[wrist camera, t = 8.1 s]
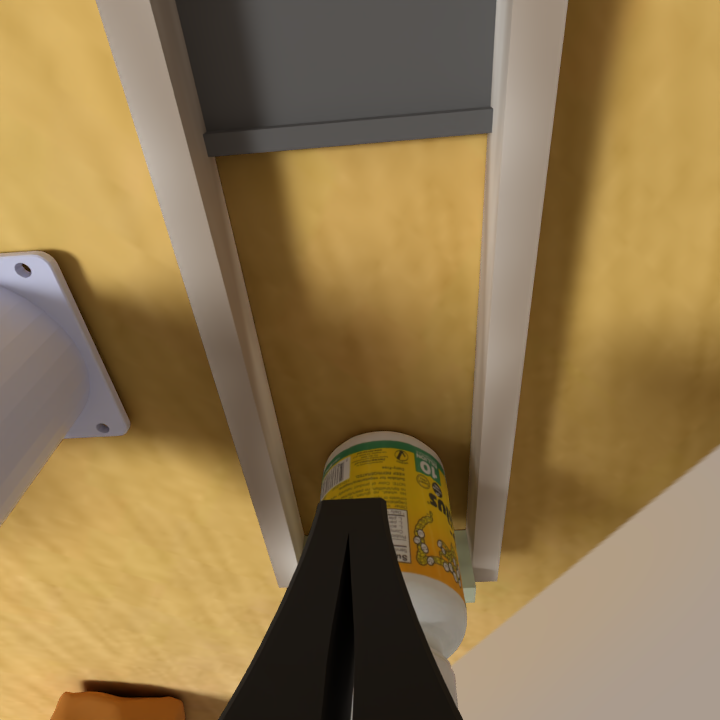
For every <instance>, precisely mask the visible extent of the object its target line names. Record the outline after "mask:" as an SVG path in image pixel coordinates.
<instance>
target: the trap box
mask: <svg viewBox="0 0 720 720" xmlns="http://www.w3.org/2000/svg"><path fill="white" fill-rule="evenodd" d="M96 3H97V6H98V10H99V13H100V16H101V19H102V22H103V26H104V29H105V32H106V35H107V38H108V42H109V45H110V48H111V51H112V54H113V58H114V61H115V64H116V67H117V70H118V74H119V77H120V80H121V83H122V86H123V90H124V93H125V96H126V99H127V102H128V106H129V109H130V112H131V115H132V118H133V122H134V125H135V128H136V131H137V134H138V138H139V141H140V144H141V147H142V150H143V154H144V157H145V160H146V163H147V166H148V170H149V173H150V176H151V179H152V182H153V186H154V189H155V192H156V195H157V198H158V202H159V205H160V208H161V211H162V214H163V218H164V221H165V224H166V227H167V230H168V234H169V237H170V240H171V243H172V246H173V250H174V253H175V256H176V259H177V262H178V266H179V269H180V272H181V275H182V278H183V282H184V285H185V288H186V291H187V294H188V298H189V301H190V304H191V307H192V310H193V314H194V317H195V320H196V323H197V326H198V330H199V333H200V336H201V339H202V342H203V346H204V349H205V352H206V355H207V358H208V362H209V365H210V368H211V371H212V374H213V378H214V381H215V384H216V387H217V390H218V394H219V397H220V400H221V403H222V406H223V410H224V413H225V416H226V419H227V422H228V426H229V429H230V432H231V435H232V438H233V442H234V445H235V448H236V451H237V454H238V458H239V461H240V464H241V467H242V470H243V474H244V477H245V480H246V483H247V486H248V490H249V493H250V496H251V499H252V502H253V506H254V509H255V512H256V515H257V518H258V522H259V525H260V528H261V531H262V534H263V538H264V541H265V544H266V547H267V550H268V554H269V557H270V560H271V563H272V566H273V570H274V573H275V576H276V579H277V582H278V586H279V588H281V587H288V586H289V583H290V581H291V579H292V576H293V574H294V572H295V569H296V567H297V565H298V562H299V560H300V557H301V554H302V552H303V549H304V547H305V544H306V541H307V538H308V536H304V532H303V527H302V523H301V519H300V515H299V510H298V506H297V502H296V498H295V494H294V489H293V485H292V481H291V477H290V473H289V468H288V464H287V460H286V456H285V451H284V447H283V443H282V439H281V435H280V430H279V426H278V422H277V418H276V413H275V409H274V405H273V401H272V397H271V392H270V388H269V384H268V380H267V375H266V371H265V367H264V363H263V359H262V354H261V350H260V346H259V342H258V338H257V333H256V329H255V325H254V321H253V316H252V312H251V308H250V304H249V300H248V295H247V291H246V287H245V283H244V278H243V274H242V270H241V266H240V262H239V257H238V253H237V249H236V245H235V240H234V236H233V232H232V228H231V224H230V219H229V215H228V211H227V207H226V202H225V198H224V194H223V190H222V186H221V181H220V177H219V173H218V169H217V165H216V160H215V157H208V154H207V150H206V146H205V142H204V138H203V134H204V133H205V132H206V127H205V123H204V119H203V115H202V111H201V106H200V102H199V98H198V94H197V90H196V86H195V81H194V77H193V73H192V69H191V65H190V61H189V56H188V52H187V48H186V44H185V40H184V35H183V31H182V27H181V23H180V19H179V15H178V10H177V6H176V2H175V0H96ZM567 6H568V0H497V1H496V19H495V36H494V54H493V72H492V89H491V107H492V108H493V124H492V133H488V136H487V154H486V172H485V190H484V208H483V226H482V245H481V263H480V281H479V299H478V317H477V336H476V354H475V372H474V390H473V408H472V426H471V445H470V463H469V481H468V499H467V517H466V530H454V534H455V541H456V549H457V554H458V562H459V568H460V574H461V580H462V586H463V592H464V598H465V603H470V602H475V594H476V585H475V582H486V581H497V578H498V570H499V561H500V553H501V545H502V537H503V529H504V521H505V512H506V504H507V496H508V488H509V480H510V472H511V463H512V455H513V447H514V439H515V431H516V423H517V414H518V406H519V398H520V390H521V382H522V374H523V365H524V357H525V349H526V341H527V333H528V325H529V316H530V308H531V300H532V292H533V284H534V276H535V267H536V259H537V251H538V243H539V235H540V227H541V218H542V210H543V202H544V194H545V186H546V178H547V169H548V161H549V153H550V145H551V137H552V129H553V120H554V112H555V104H556V96H557V88H558V80H559V71H560V63H561V55H562V47H563V39H564V31H565V22H566V14H567Z"/></svg>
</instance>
